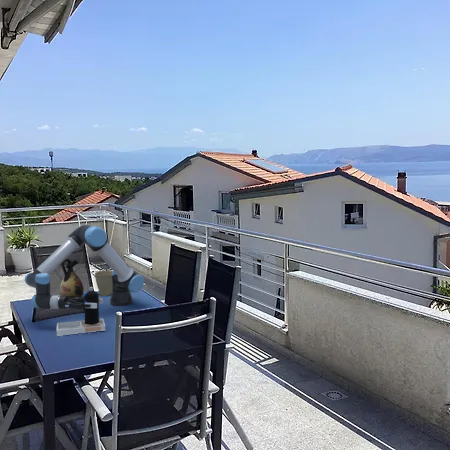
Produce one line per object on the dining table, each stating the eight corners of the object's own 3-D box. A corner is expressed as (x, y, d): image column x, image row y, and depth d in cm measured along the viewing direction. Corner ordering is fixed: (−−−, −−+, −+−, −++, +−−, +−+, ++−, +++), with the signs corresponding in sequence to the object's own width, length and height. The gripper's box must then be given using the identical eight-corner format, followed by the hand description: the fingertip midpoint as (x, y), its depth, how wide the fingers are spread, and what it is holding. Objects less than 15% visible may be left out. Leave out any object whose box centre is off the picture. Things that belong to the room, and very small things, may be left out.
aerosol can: (100, 319, 258) (99, 285, 255) (98, 324, 250) (97, 288, 247) (85, 320, 256) (84, 285, 254) (83, 325, 248) (82, 289, 246)
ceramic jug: (74, 297, 319) (73, 255, 316) (88, 300, 310) (87, 257, 307) (53, 302, 305) (51, 258, 302) (67, 306, 296) (65, 261, 293)
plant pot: (97, 298, 316) (97, 275, 314) (93, 293, 329) (92, 271, 327) (119, 295, 323) (118, 273, 321) (113, 291, 336) (113, 269, 334)
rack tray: (103, 324, 262) (103, 318, 261) (105, 331, 249) (105, 325, 249) (57, 329, 253) (57, 322, 253) (56, 337, 241) (56, 330, 241)
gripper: (68, 303, 264) (106, 304, 262) (51, 314, 243) (92, 315, 241) (68, 290, 263) (106, 292, 261) (51, 300, 242) (92, 302, 241)
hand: (99, 303), depth 251 cm, fingers closed on aerosol can, 8 cm apart
